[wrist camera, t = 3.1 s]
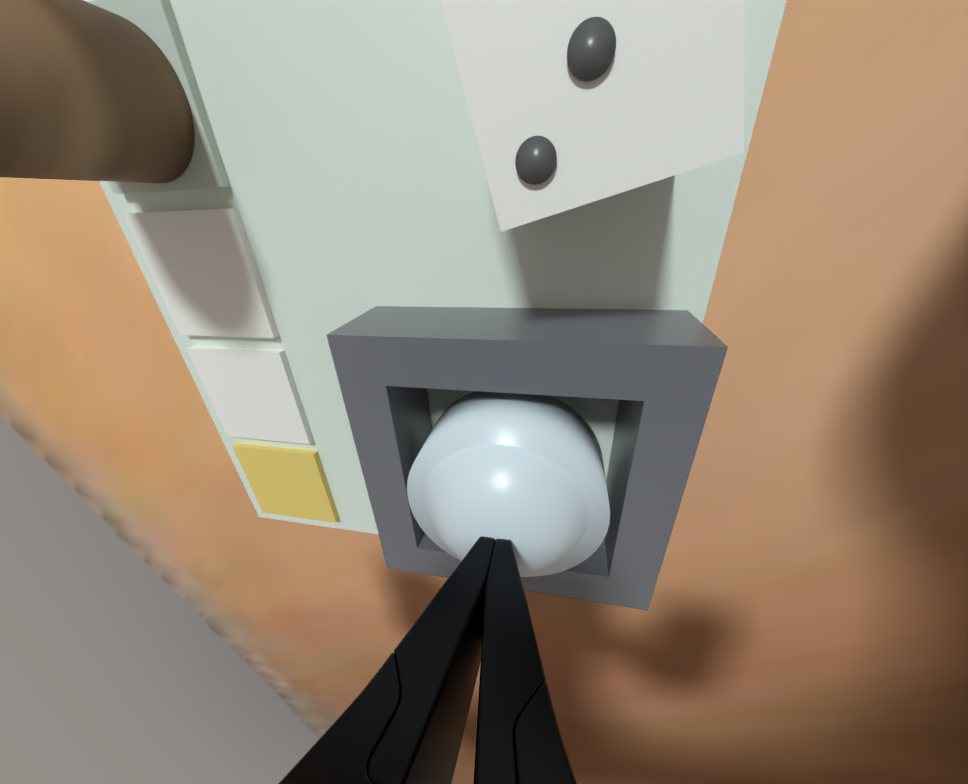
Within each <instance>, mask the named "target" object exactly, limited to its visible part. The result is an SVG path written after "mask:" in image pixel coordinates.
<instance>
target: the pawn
mask: <svg viewBox="0 0 968 784" xmlns="http://www.w3.org/2000/svg"><path fill="white" fill-rule="evenodd" d="M193 151H194V123H193V118H192V113H191V109H190V105H189V102H188V99H187V96H186V94H185V91H184V88H183V86H182V84H181V82H180V80H179V78H178V76H177V74H176V72H175V70H174V69H173V67H172V65H171V63H170V62H169V61H168V59H167V58H166V56H165V55H164V53H163V52H162V51H161V49H160V48H159V47H158V46H157V44H156V43H155V42H154V41H153V40H152V39H151V38H150V37H149V36H148V35H147V34H146V33H145V32H144V31H142V30H141V29H140V28H139V27H138V26H136V25H135V24H133V23H132V22H131V21H129V20H127V19H125V18H123V17H121V16H119V15H117V14H115V13H112V12H110V11H107V10H105V9H103V8H100V7H98V6H96V5H93V4H91V3H88V2H86V1H84V0H0V177H13V178H39V179H64V180H90V181H116V182H141V183H168V182H171V181H174V180H176V179H177V178H179V177H180V176H181V175H182V174H183V173H184V172H185V171H186V169H187V168H188V166H189V164H190V161H191V159H192V155H193Z"/></svg>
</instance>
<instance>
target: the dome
mask: <svg viewBox="0 0 968 784" xmlns="http://www.w3.org/2000/svg"><path fill="white" fill-rule="evenodd" d="M407 495H408V501H409V505H410V508H411V511H412V513H413V515H414V517H415V519H416V521H417V522H418V524H419V526H420V527H421V528H422V530H423V531H424V532H425V534H426V535H427V536H428V537H429V538H430V539H431V540H432V541H433V542H434V543H435V544H437V545H438V546H439V547H440V548H441V549H443V550H444V551H446V552H447V553H448V554H450V555H451V556H453V557H455V558H457V559H458V560H460V561H462V560H463V558H464V557H465V556H466V554H467V553H468V552H469V550H470V549H471V548H472V546H473V545H474V544H475V542H476V541H477V540H478V539H479V537H481V536H484V537H491V538H494V539H495V540H496V539H508V540H511V541H512V544H513V549H514V553H515V557H516V561H517V565H518V569H519V573H520V577H535V576H544V575H551V574H555V573H558V572H562V571H565V570H567V569H570V568H572V567H574V566H576V565H578V564H580V563H582V562H583V561H584V560H586V559H587V558H589V557H590V556H591V555H592V554H593V553H594V552H595V551H596V550H597V549H598V547H599V546H600V545H601V543H602V542H603V540H604V538H605V536H606V534H607V531H608V527H609V523H610V506H609V499H608V492H607V485H606V478H605V471H604V464H603V458H602V452H601V448H600V445H599V442H598V440H597V438H596V435H595V433H594V432H593V430H592V429H591V427H590V426H589V424H588V423H587V422H586V421H585V420H584V419H583V418H582V417H581V415H579V414H578V413H577V412H576V411H575V410H573V409H572V408H571V407H569V406H568V405H566V404H565V403H563V402H562V401H560V400H558V399H556V398H554V397H552V396H549V395H532V394H515V393H498V392H481V391H475V392H473V393H470V394H468V395H466V396H464V397H462V398H460V399H458V400H457V401H455V402H454V403H453V404H452V405H450V406H449V407H448V408H447V409H446V410H445V411H444V412H443V413H442V415H441V416H440V418H439V419H438V421H437V422H436V424H435V426H434V428H433V429H432V431H431V433H430V435H429V436H428V438H427V440H426V442H425V443H424V445H423V447H422V449H421V450H420V452H419V454H418V456H417V458H416V459H415V461H414V463H413V465H412V467H411V470H410V472H409V476H408V480H407Z"/></svg>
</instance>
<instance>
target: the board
mask: <svg viewBox="0 0 968 784" xmlns="http://www.w3.org/2000/svg"><path fill="white" fill-rule="evenodd" d="M84 1H86V2H88V3H91V4H93V5H96V6H98V7H100V8H103V9H105V10H107V11H110V12H112V13H115V14H117V15H119V16H121V17H123V18H125V19H127V20H129V21H131V22H132V23H133V24H135V25H136V26H138V27H139V28H140V29H141V30H142V31H144V32H145V33H146V34H147V35H148V36H149V37H150V38H151V39H152V40H153V41H154V42H155V43H156V44H157V46H158V47H159V48H160V49H161V51H162V52H163V53H164V55H165V56H166V58H167V59H168V61H169V62H170V63H171V65H172V67H173V69H174V70H175V72H176V74H177V76H178V78H179V80H180V82H181V84H182V86H183V88H184V91H185V94H186V96H187V99H188V102H189V105H190V109H191V113H192V118H193V123H194V151H193V155H192V159H191V161H190V164H189V166H188V168H187V169H186V171H185V172H184V173H183V174H182V175H181V176H180V177H179V178H177V179H176V180H174V181H171V182H168V183H141V182H116V181H99V183H100V185H101V187H102V189H103V191H104V193H105V195H106V197H107V199H108V201H109V203H110V206H111V208H112V210H113V212H114V214H115V216H116V218H117V220H118V222H119V224H120V227H121V229H122V231H123V233H124V235H125V237H126V239H127V241H128V243H129V245H130V247H131V250H132V252H133V254H134V256H135V258H136V260H137V262H138V264H139V266H140V268H141V270H142V273H143V275H144V277H145V279H146V281H147V283H148V285H149V287H150V289H151V291H152V294H153V296H154V298H155V300H156V302H157V304H158V306H159V308H160V310H161V312H162V314H163V317H164V319H165V321H166V323H167V325H168V327H169V329H170V331H171V333H172V335H173V337H174V340H175V342H176V344H177V346H178V348H179V350H180V352H181V354H182V356H183V358H184V361H185V363H186V365H187V367H188V369H189V371H190V373H191V375H192V377H193V379H194V381H195V384H196V386H197V388H198V390H199V392H200V394H201V396H202V398H203V400H204V402H205V404H206V407H207V409H208V411H209V413H210V415H211V417H212V419H213V421H214V423H215V425H216V428H217V430H218V432H219V434H220V436H221V438H222V440H223V442H224V444H225V446H226V448H227V451H228V453H229V455H230V457H231V459H232V461H233V463H234V465H235V467H236V469H237V471H238V474H239V476H240V478H241V480H242V482H243V484H244V486H245V488H246V490H247V492H248V495H249V497H250V499H251V501H252V503H253V505H254V507H255V509H256V511H257V513H258V515H259V517H263V518H270V519H277V520H284V521H291V522H298V523H305V524H311V525H318V526H325V527H332V528H339V529H346V530H353V531H359V532H366V533H373V534H378V530H377V526H376V522H375V518H374V515H373V511H372V507H371V503H370V499H369V496H368V492H367V488H366V484H365V480H364V476H363V473H362V469H361V465H360V461H359V457H358V454H357V450H356V446H355V442H354V438H353V435H352V431H351V427H350V423H349V419H348V415H347V412H346V408H345V404H344V400H343V396H342V393H341V389H340V385H339V381H338V377H337V374H336V370H335V366H334V362H333V358H332V354H331V351H330V347H329V343H328V339H327V334H329V333H330V332H332V331H334V330H336V329H337V328H339V327H341V326H342V325H344V324H346V323H348V322H349V321H351V320H353V319H355V318H356V317H358V316H360V315H361V314H363V313H365V312H367V311H368V310H370V309H372V308H374V307H375V306H402V307H480V308H557V309H634V310H688V311H689V312H690V313H691V314H692V315H693V316H694V317H696V318H697V319H698V320H699V321H700V322H701V323H702V324H703V321H704V317H705V313H706V309H707V305H708V302H709V298H710V294H711V290H712V286H713V282H714V278H715V275H716V271H717V267H718V263H719V259H720V255H721V252H722V248H723V244H724V240H725V236H726V232H727V228H728V225H729V221H730V217H731V213H732V209H733V205H734V201H735V198H736V194H737V190H738V186H739V182H740V178H741V175H742V171H743V167H744V163H745V159H746V155H747V151H748V148H749V144H750V140H751V136H752V132H753V128H754V124H755V121H756V117H757V113H758V109H759V105H760V101H761V98H762V94H763V90H764V86H765V82H766V78H767V74H768V71H769V67H770V63H771V59H772V55H773V51H774V47H775V44H776V40H777V36H778V32H779V28H780V24H781V21H782V17H783V13H784V9H785V5H786V1H787V0H745V41H744V153H742V154H739V155H735V156H732V157H729V158H726V159H723V160H720V161H717V162H714V163H711V164H708V165H705V166H702V167H699V168H696V169H692V170H689V171H686V172H683V173H680V174H677V175H674V176H671V177H668V178H665V179H662V180H659V181H656V182H653V183H650V184H646V185H643V186H640V187H637V188H634V189H631V190H628V191H625V192H622V193H619V194H616V195H613V196H610V197H607V198H604V199H600V200H597V201H594V202H591V203H588V204H585V205H582V206H579V207H576V208H573V209H570V210H567V211H564V212H561V213H558V214H554V215H551V216H548V217H545V218H542V219H539V220H536V221H533V222H530V223H527V224H524V225H521V226H518V227H515V228H511V229H508V230H505V231H502V232H501V230H500V227H499V223H498V219H497V215H496V211H495V207H494V203H493V200H492V196H491V192H490V188H489V184H488V180H487V177H486V173H485V169H484V165H483V161H482V157H481V153H480V150H479V146H478V142H477V138H476V134H475V130H474V127H473V123H472V119H471V115H470V111H469V107H468V104H467V100H466V96H465V92H464V88H463V84H462V80H461V77H460V73H459V69H458V65H457V61H456V57H455V54H454V50H453V46H452V42H451V38H450V34H449V30H448V27H447V23H446V19H445V15H444V11H443V7H442V4H441V0H84ZM427 391H428V399H429V407H430V414H431V422H432V429H433V428H434V426H435V424H436V422H437V421H438V419H439V418H440V416H441V415H442V413H443V412H444V411H445V410H446V409H447V408H448V407H449V406H450V405H452V404H453V403H454V402H455V401H457V400H458V399H460V398H462V397H464V396H466V395H468V394H470V393H473V392H475V391H464V390H447V389H430V388H427ZM552 397H554V398H556V399H558V400H560V401H562V402H563V403H565V404H566V405H568V406H569V407H571V408H572V409H573V410H575V411H576V412H577V413H578V414H579V415H581V417H582V418H583V419H584V420H585V421H586V422H587V423H588V424H589V426H590V427H591V429H592V430H593V432H594V433H595V435H596V438H597V440H598V442H599V445H600V448H601V452H602V458H603V464H604V471H605V478H607V472H608V466H609V460H610V454H611V448H612V441H613V435H614V429H615V423H616V417H617V410H618V404H619V400H617V399H600V398H583V397H566V396H552Z"/></svg>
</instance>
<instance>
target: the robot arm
mask: <svg viewBox="0 0 968 784" xmlns="http://www.w3.org/2000/svg"><path fill="white" fill-rule="evenodd" d="M394 653H395V654H394ZM394 653H392V654H391V655H390V656H389V658H388V659H387V660H386V662H385V663H384V664H383V666H382V667H381V668H380V669H379V671H378V672H377V673H376V675H375V676H374V677H373V678H372V680H371V681H370V682H369V683H368V685H367V686H366V687H365V688H364V690H363V691H362V692H361V693H360V694H359V696H358V697H357V698H356V699H355V700H354V701H353V702H352V704H351V705H350V706H349V707H348V708H347V709H346V710H345V712H344V713H343V714H342V715H341V716H340V717H339V718H338V719H337V720H336V722H335V723H334V724H333V725H332V726H331V727H330V728H329V729H328V730H327V731H326V733H325V734H324V735H323V736H322V737H321V738H320V739H319V740H318V741H317V742H316V744H315V745H314V746H313V747H312V748H311V749H310V750H309V751H308V752H307V753H306V754H305V756H304V757H303V758H302V759H301V760H300V761H299V762H298V763H297V764H296V765H295V767H294V768H293V769H292V770H291V771H290V772H289V773H288V774H287V775H286V776H285V777H284V779H283V780H282V781H281V782H280V783H279V784H451V783H452V779H453V774H454V770H455V766H456V762H457V758H458V753H459V749H460V745H461V741H462V737H463V733H464V728H465V724H466V720H467V716H468V712H469V707H470V703H471V699H472V695H473V691H474V687H475V682H476V678H477V674H478V670H479V666H480V662H481V669H480V686H479V703H478V719H477V736H476V753H475V770H474V784H577V783H576V780H575V777H574V774H573V771H572V768H571V765H570V762H569V759H568V756H567V753H566V750H565V747H564V744H563V741H562V738H561V735H560V731H559V728H558V724H557V720H556V717H555V713H554V710H553V706H552V702H551V698H550V694H549V690H548V686H547V683H546V678H545V674H544V670H543V666H542V662H541V658H540V654H539V650H538V646H537V642H536V638H535V634H534V630H533V626H532V621H531V617H530V613H529V609H528V605H527V601H526V597H525V593H524V589H523V585H522V581H521V577H520V573H519V569H518V565H517V561H516V557H515V553H514V549H513V544H512V541H511V540H508V539H496V540H495V539H494V538H491V537H484V536H481V537H479V539H478V540H477V541H476V542H475V544H474V545H473V546H472V548H471V549H470V550H469V552H468V553H467V554H466V556H465V557H464V558H463V560H462V561H461V562H460V564H459V565H458V566H457V568H456V569H455V570H454V572H453V573H452V574H451V576H450V577H449V578H448V580H447V581H446V582H445V584H444V585H443V586H442V587H441V589H440V590H439V591H438V593H437V594H436V595H435V597H434V598H433V599H432V601H431V602H430V603H429V605H428V606H427V607H426V609H425V610H424V611H423V613H422V614H421V615H420V617H419V618H418V619H417V621H416V622H415V623H414V625H413V626H412V627H411V629H410V630H409V631H408V633H407V634H406V635H405V637H404V638H403V639H402V641H401V642H400V643H399V645H398V646H397V647H396V648H395V650H394Z"/></svg>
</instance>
